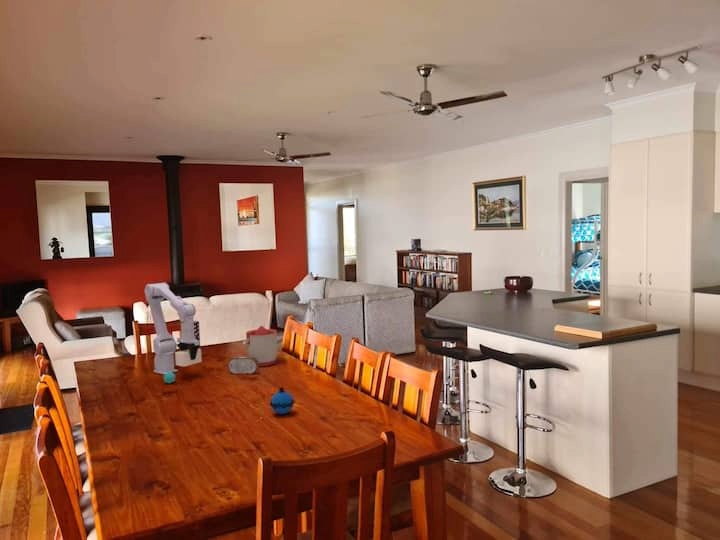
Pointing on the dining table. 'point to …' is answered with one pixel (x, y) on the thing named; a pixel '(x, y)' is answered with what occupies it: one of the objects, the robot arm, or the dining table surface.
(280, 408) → the ornament
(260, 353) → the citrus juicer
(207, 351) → the dining table surface
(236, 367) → the tin
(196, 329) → the white-spotted black cylinder
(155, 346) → the robot arm
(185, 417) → the dining table surface
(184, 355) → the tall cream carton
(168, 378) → the ball
